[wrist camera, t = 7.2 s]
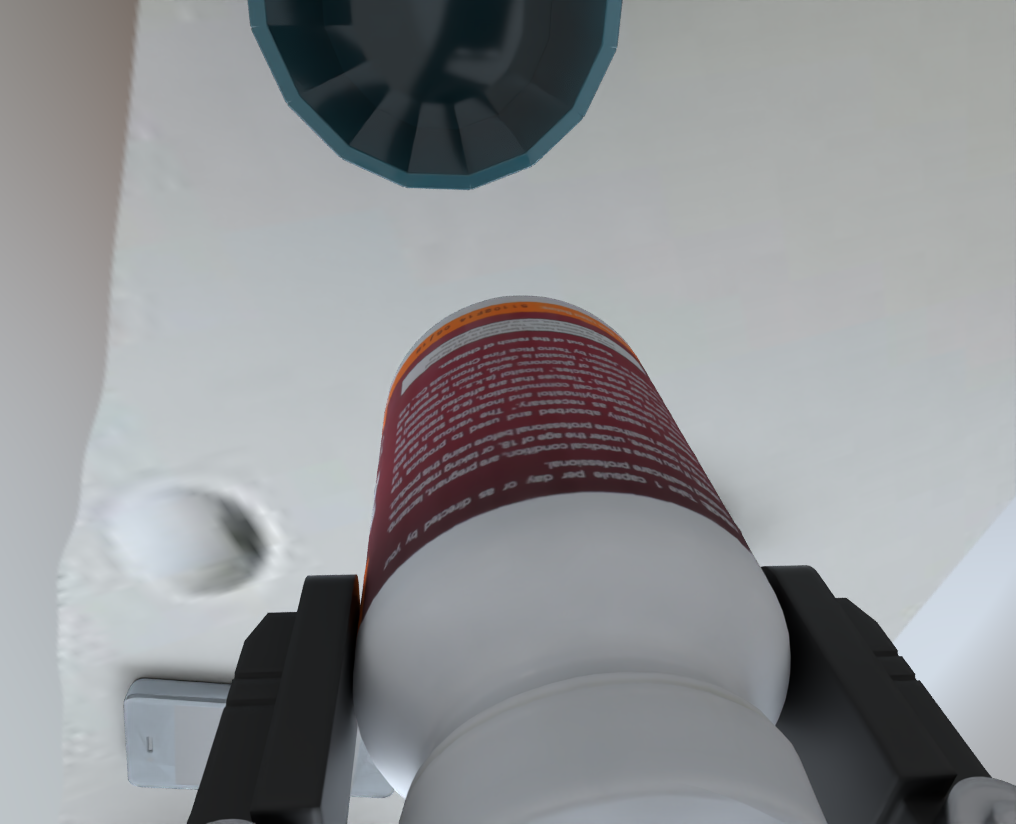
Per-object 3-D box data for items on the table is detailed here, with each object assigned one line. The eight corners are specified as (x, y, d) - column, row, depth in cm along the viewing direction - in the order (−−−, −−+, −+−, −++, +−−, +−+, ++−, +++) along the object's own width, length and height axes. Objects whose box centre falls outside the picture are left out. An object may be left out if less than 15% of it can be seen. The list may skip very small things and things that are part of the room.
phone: (393, 780, 46) (392, 799, 45) (134, 768, 43) (126, 787, 42) (412, 696, 42) (411, 714, 41) (129, 676, 40) (120, 695, 38)
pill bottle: (329, 383, 16) (167, 920, 6) (561, 232, 15) (790, 615, 5) (481, 552, 19) (527, 1105, 9) (685, 437, 18) (985, 935, 8)
